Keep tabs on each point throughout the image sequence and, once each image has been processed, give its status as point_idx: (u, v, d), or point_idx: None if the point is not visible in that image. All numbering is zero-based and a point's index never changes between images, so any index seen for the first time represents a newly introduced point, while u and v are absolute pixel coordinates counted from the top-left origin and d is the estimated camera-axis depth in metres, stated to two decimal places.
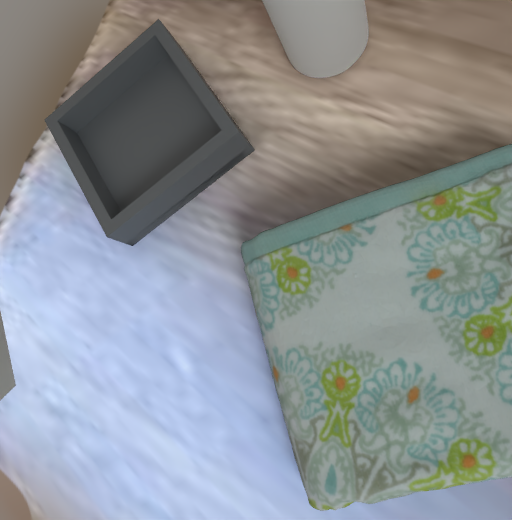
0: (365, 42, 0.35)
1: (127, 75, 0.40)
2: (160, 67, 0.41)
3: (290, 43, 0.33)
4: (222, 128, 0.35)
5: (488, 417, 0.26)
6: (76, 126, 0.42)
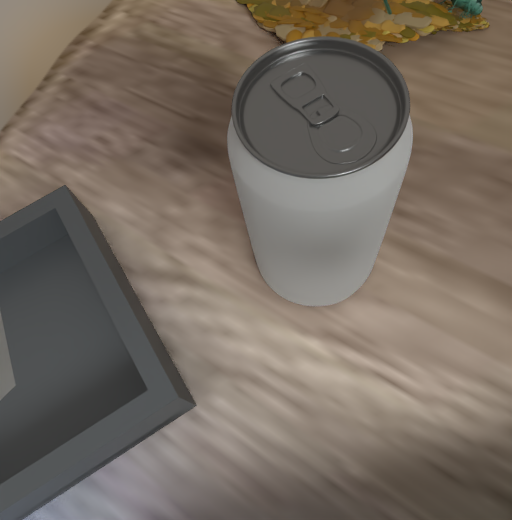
0: None
1: (0, 257, 0.25)
2: (58, 249, 0.26)
3: (275, 267, 0.21)
4: (149, 386, 0.20)
5: None
6: None
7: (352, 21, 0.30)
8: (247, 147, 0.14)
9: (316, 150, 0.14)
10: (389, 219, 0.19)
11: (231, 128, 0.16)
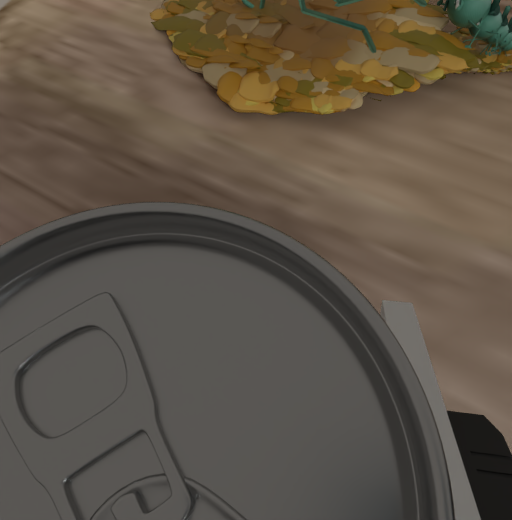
0: None
1: None
2: None
3: None
4: None
5: None
6: None
7: (317, 60, 0.20)
8: None
9: None
10: None
11: None
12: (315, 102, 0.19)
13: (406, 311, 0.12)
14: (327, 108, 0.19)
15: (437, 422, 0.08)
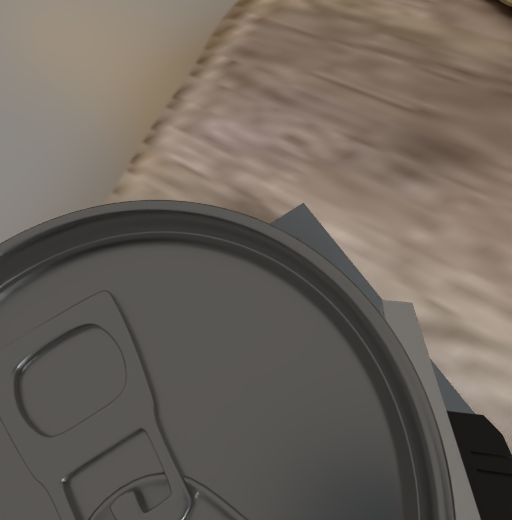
0: None
1: None
2: None
3: None
4: None
5: None
6: None
7: None
8: None
9: None
10: None
11: None
12: None
13: (406, 311, 0.12)
14: None
15: (437, 422, 0.08)
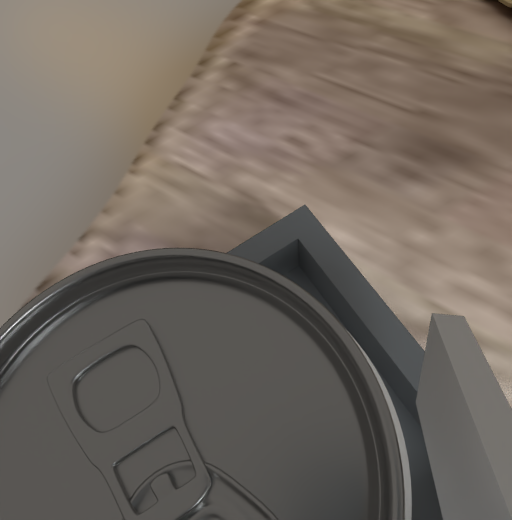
0: None
1: None
2: None
3: None
4: None
5: None
6: None
7: None
8: None
9: None
10: None
11: None
12: None
13: (460, 326, 0.11)
14: None
15: None
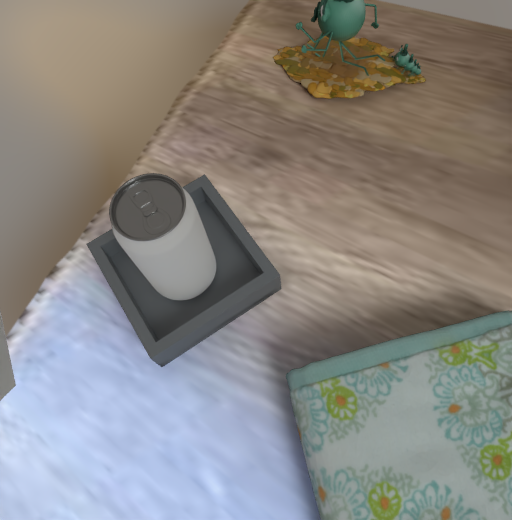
0: (212, 277, 0.43)
1: None
2: None
3: (148, 278, 0.40)
4: (264, 270, 0.41)
5: None
6: (112, 252, 0.45)
7: (346, 78, 0.52)
8: (114, 226, 0.33)
9: (144, 227, 0.33)
10: (201, 254, 0.38)
11: None
12: (346, 93, 0.52)
13: None
14: (351, 95, 0.51)
15: None
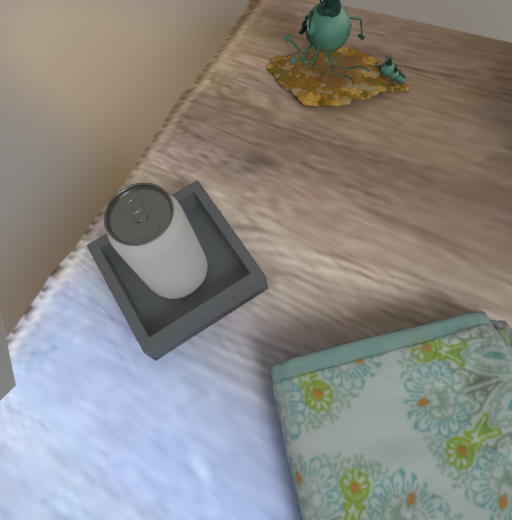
0: (203, 278, 0.46)
1: None
2: (190, 214, 0.50)
3: (142, 278, 0.43)
4: (251, 271, 0.44)
5: (466, 518, 0.34)
6: (110, 252, 0.49)
7: (334, 87, 0.55)
8: (107, 232, 0.36)
9: (135, 233, 0.36)
10: (190, 256, 0.41)
11: None
12: (333, 102, 0.54)
13: None
14: (338, 104, 0.54)
15: None
